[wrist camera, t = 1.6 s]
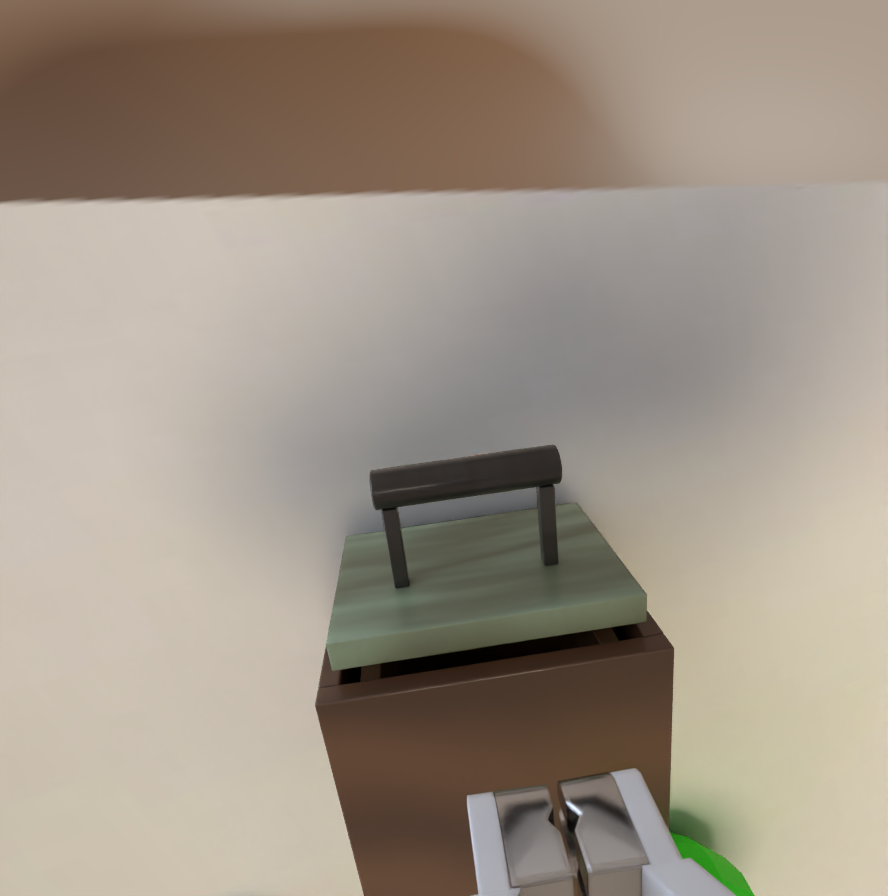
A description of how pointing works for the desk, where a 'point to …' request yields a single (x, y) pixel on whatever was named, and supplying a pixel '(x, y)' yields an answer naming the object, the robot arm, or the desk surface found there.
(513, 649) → the drawer
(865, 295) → the desk surface
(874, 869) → the desk surface
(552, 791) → the cabinet
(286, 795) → the desk surface
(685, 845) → the plastic bottle
